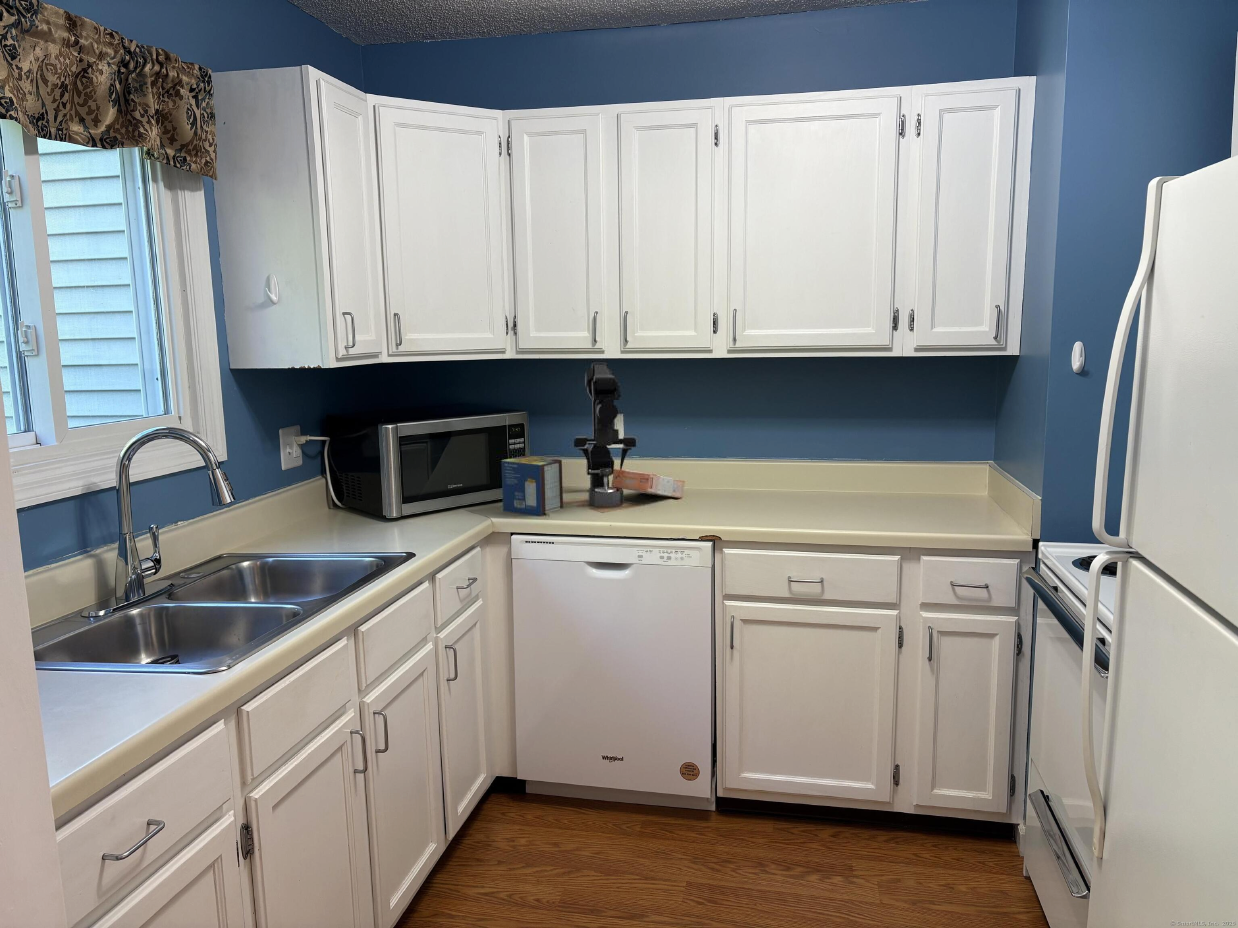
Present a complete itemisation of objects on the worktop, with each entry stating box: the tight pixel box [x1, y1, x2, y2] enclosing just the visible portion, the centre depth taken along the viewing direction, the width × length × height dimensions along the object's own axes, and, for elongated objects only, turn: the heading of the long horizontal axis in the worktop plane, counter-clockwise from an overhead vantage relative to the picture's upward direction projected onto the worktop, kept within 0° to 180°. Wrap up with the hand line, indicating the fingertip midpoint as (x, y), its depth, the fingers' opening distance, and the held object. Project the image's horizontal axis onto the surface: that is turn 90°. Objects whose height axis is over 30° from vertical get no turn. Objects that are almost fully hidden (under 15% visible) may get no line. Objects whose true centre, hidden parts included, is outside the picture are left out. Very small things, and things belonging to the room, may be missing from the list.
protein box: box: [500, 455, 564, 517], centre depth 257 cm, size 10×15×16 cm
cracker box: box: [610, 468, 686, 499], centre depth 271 cm, size 14×6×21 cm
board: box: [563, 496, 645, 514], centre depth 264 cm, size 22×16×1 cm
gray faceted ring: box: [587, 486, 624, 508], centre depth 263 cm, size 13×10×4 cm
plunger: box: [595, 468, 617, 492], centre depth 261 cm, size 7×7×7 cm
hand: (605, 469), depth 261 cm, fingers open, 9 cm apart
